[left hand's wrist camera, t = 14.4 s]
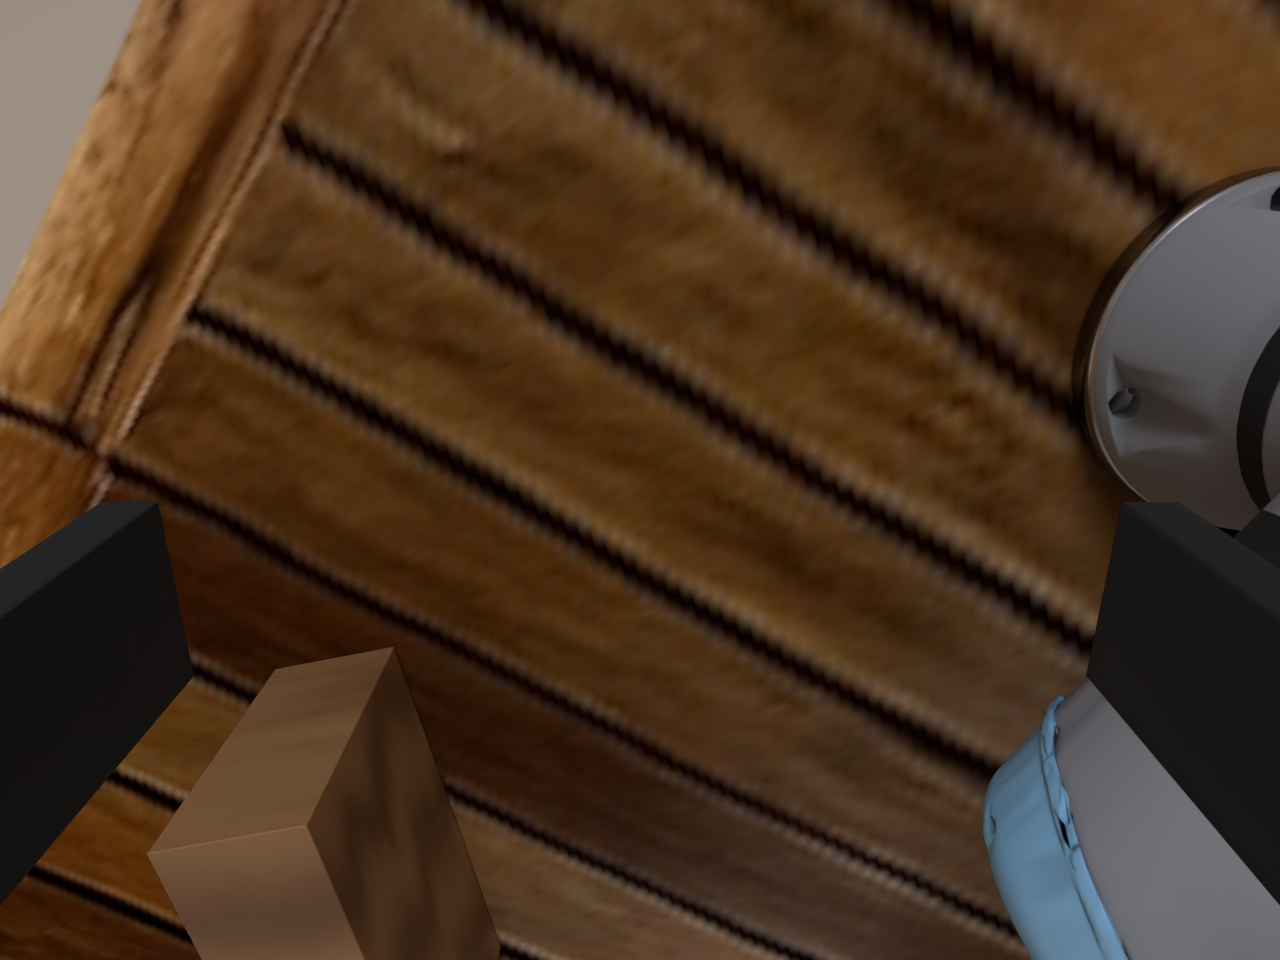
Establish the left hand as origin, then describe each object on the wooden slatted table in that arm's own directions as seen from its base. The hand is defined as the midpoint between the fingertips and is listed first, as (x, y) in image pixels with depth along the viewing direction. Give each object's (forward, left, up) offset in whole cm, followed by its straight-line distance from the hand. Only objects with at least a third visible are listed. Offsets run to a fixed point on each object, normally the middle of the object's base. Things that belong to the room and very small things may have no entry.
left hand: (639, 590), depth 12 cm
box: (-3, +31, -27) cm, 41 cm away
